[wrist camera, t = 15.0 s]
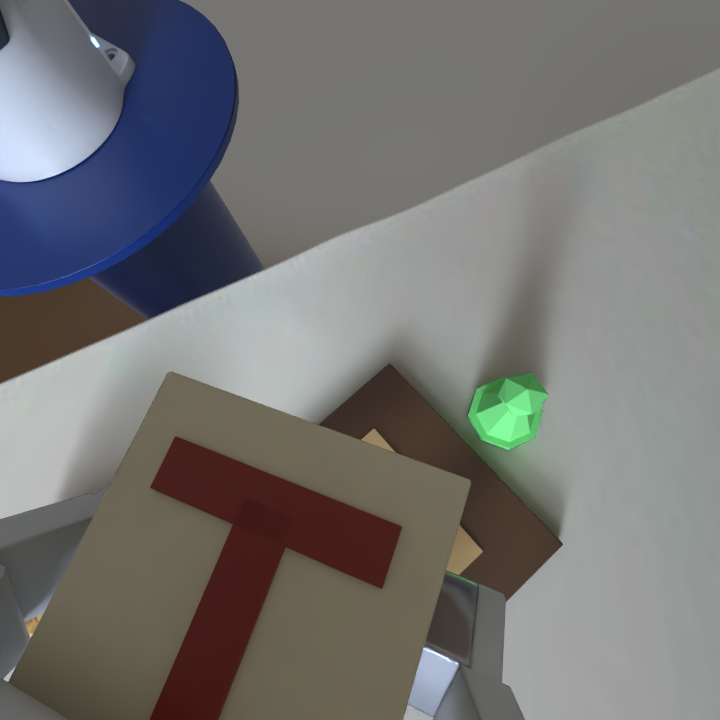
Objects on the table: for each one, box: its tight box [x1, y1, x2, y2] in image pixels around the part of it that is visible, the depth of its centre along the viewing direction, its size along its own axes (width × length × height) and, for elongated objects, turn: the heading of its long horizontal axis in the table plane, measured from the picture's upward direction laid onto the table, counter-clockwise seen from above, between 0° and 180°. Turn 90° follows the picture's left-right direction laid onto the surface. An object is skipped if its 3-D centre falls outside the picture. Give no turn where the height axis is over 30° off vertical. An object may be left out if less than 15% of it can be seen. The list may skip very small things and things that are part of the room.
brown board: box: [319, 364, 563, 601], centre depth 25 cm, size 14×16×1 cm
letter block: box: [8, 372, 471, 720], centre depth 10 cm, size 5×5×8 cm
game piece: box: [467, 373, 548, 450], centre depth 24 cm, size 4×4×6 cm
